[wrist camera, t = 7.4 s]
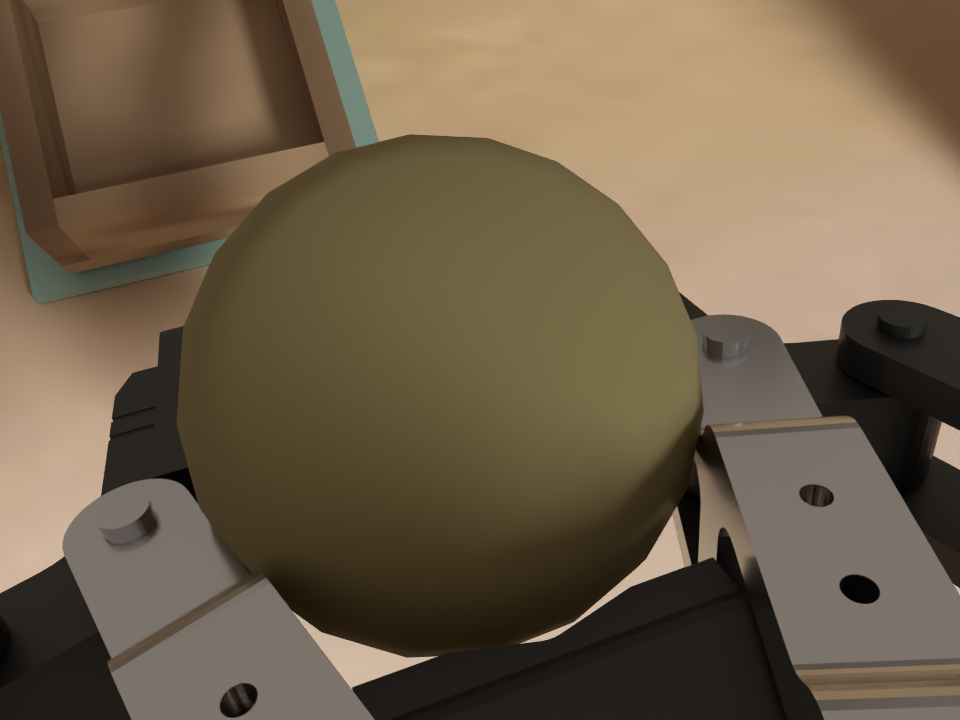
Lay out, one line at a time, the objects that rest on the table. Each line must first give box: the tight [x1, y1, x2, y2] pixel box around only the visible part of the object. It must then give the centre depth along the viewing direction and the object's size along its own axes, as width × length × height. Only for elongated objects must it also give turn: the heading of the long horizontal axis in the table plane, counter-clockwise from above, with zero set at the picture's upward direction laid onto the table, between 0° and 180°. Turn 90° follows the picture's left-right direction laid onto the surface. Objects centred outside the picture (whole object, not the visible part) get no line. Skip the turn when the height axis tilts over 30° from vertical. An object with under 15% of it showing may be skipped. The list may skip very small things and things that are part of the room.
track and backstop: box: [0, 0, 379, 304], centre depth 30 cm, size 18×16×5 cm
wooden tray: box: [0, 0, 356, 274], centre depth 29 cm, size 11×11×4 cm
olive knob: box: [177, 135, 704, 658], centre depth 12 cm, size 6×6×11 cm
